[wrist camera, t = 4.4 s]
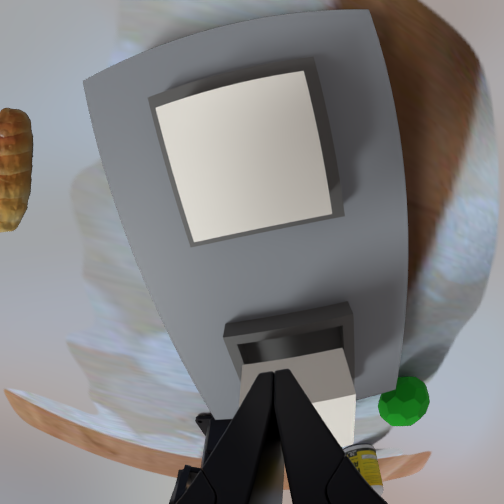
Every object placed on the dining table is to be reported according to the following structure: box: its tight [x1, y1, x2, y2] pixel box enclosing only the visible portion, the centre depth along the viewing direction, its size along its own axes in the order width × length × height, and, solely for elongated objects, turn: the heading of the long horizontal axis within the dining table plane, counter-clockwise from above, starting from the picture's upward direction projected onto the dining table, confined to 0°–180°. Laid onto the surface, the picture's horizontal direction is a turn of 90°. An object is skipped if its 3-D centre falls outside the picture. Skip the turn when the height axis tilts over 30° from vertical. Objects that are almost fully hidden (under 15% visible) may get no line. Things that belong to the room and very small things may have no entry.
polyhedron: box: [378, 377, 430, 426], centre depth 22 cm, size 5×5×5 cm
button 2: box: [156, 71, 332, 242], centre depth 11 cm, size 5×5×3 cm
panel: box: [83, 9, 408, 420], centre depth 16 cm, size 24×14×5 cm, turn 13°
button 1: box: [239, 348, 356, 447], centre depth 13 cm, size 5×5×3 cm
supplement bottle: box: [344, 444, 383, 496], centre depth 25 cm, size 5×5×10 cm
